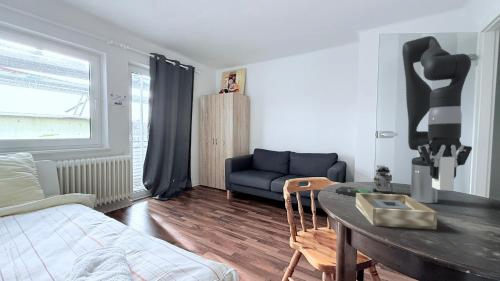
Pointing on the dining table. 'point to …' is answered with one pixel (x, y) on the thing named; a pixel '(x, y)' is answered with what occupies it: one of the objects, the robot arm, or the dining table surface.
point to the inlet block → (389, 204)
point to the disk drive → (350, 191)
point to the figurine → (382, 179)
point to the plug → (445, 174)
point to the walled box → (396, 212)
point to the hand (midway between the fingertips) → (442, 178)
